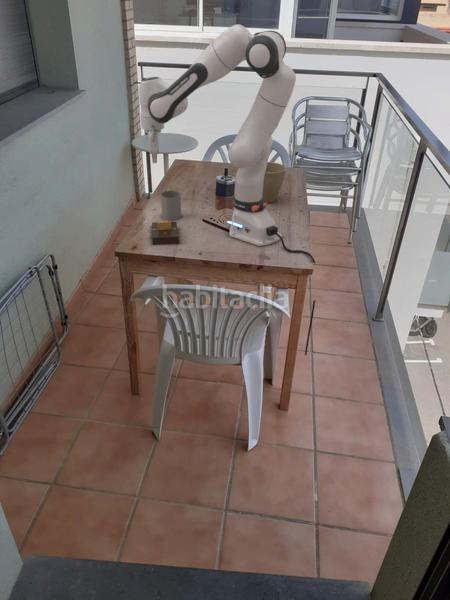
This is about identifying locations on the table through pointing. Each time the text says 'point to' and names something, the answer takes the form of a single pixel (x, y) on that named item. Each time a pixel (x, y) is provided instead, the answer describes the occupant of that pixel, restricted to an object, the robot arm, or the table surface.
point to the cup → (171, 205)
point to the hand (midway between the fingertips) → (154, 158)
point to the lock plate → (165, 234)
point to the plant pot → (273, 181)
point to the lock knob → (164, 225)
